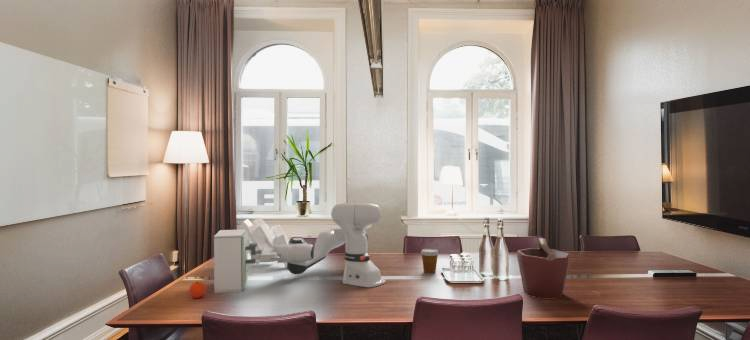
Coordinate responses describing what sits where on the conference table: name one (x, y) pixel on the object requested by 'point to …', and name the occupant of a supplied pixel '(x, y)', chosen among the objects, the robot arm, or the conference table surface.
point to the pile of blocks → (264, 235)
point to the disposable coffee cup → (429, 260)
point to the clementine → (197, 289)
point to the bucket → (543, 270)
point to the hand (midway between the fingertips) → (251, 254)
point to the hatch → (246, 257)
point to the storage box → (228, 261)
